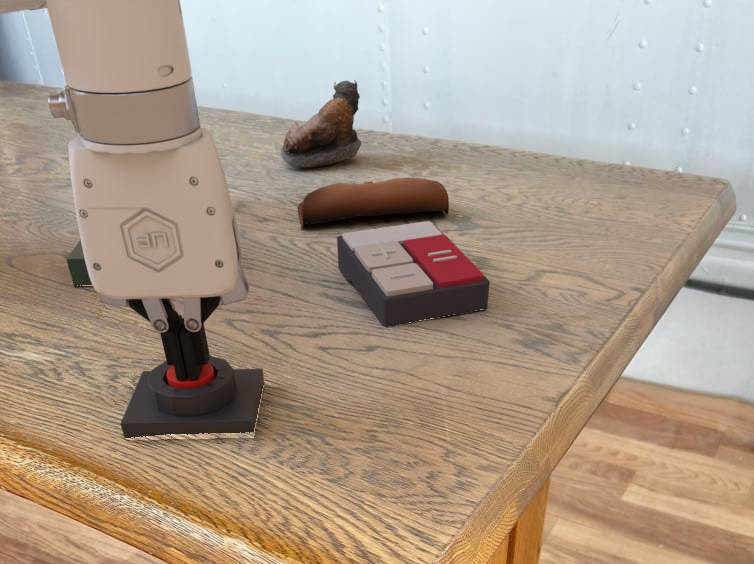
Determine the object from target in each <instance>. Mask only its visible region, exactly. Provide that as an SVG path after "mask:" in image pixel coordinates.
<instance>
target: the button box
mask: <svg viewBox="0 0 754 564" xmlns="http://www.w3.org/2000/svg"><path fill="white" fill-rule="evenodd" d="M208 363H209V364H211V365H212V367H213V370H214V375H215V379H214V380H212V381H211V382H210V383H208V384H206V385H203V386H199V387H196V388H188V389H178V388H175V387H172V386H169V384H168V379H167V371H168V369H169V368H170V367H172V366H173V365H168V364H167V361H166V360H165V361H163V362H162V363H160V364H158V365H157V366H155V367H154V368H152V370H143V371H142V372H141V374H140V377H139V379H138V381H137V384H136V385H135V389H134V391H133V393H132V395H131V398H130V400H129V402H128V405H127V407H126V410H125V411H124V414H123V416H122V419H121V420H120V426H121V430H122V435H123V437H124V439H125V438H131V437H134V438H135V437H140V436H141V437H143V436H145V437H146V436H155V435H164V434H165V435H166V434H170V435H171V434H187V435H188V434H199V433H202V434H204V433H208V434H210V433H240V432H241V433H245V432H249V433H250V432H254V428H255V423H256V418H257V414H258V408H259V404H260V399H261V394H262V389H263V385H264V384H265V378H264V370H263V368H233V366H232V365H231V364H230V363H229V362H228V361H227V360H226V359H224V358H222V357H221V358H220V357H217V356H213V355H210V354H209V362H208Z"/></svg>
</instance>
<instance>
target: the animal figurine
mask: <svg viewBox="0 0 754 564" xmlns="http://www.w3.org/2000/svg"><path fill="white" fill-rule="evenodd" d="M353 81H354V82H351V81H349V80H342V81H340V82H338V83H336V81H334V82H333V89H334V91H335V92H334V93H333V94H332V98H331V99H330V100H328V101H327V102H326V103H325V104H323V105H322V107H320V109H319V110H318V112H316V114H314V115H313V116H311V117H310V118H309V119H308V120H307V121H306V122H305V124H299V123H298V122H296V121H295V122H293V123H292V124H291V125H290V128H289V129H288V131H287V133H286V134H285V136H284V140H283V145H282V146H281V148H280V151H279V152H280V156H281V158H282V160H283V161H284V162H285V163H286V164H287V165H289V166H290V167H293V168H317V167H323V166H327V165H332V164H334V163H338V162H341V161H345V160H347V159H350V158H353V157H355V156H357V155H358V152H359V150H360V148H361V146H362V141H361V139H360V138H359V137H358V133H357V131H356V130H355V129H354V121H355V115H356V113H357V112H358V111H359V99H360V98H361V96H360V93H359V91H358V81H357V80H356V79H353Z"/></svg>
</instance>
